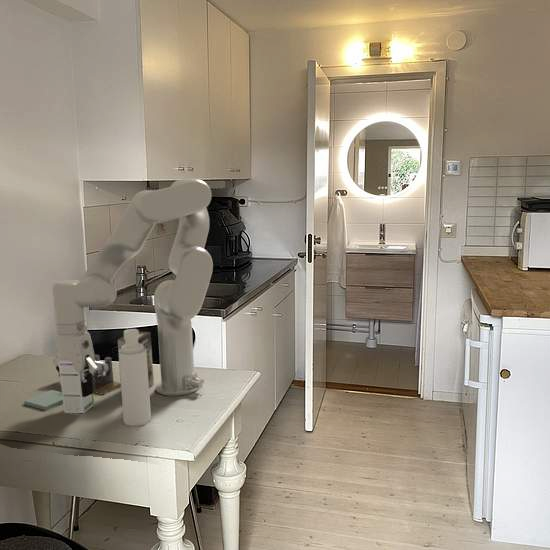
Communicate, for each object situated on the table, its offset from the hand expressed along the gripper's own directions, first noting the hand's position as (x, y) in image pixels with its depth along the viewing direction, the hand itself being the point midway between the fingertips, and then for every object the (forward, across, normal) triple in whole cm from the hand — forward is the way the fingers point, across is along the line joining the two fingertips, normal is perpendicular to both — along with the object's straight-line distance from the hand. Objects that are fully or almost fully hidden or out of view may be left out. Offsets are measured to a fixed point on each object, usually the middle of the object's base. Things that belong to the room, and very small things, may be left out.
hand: (77, 392), depth 150 cm
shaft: (+1, +14, -14) cm, 20 cm away
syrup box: (+5, 0, 0) cm, 5 cm away
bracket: (+5, +8, -14) cm, 17 cm away
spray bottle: (+5, -19, -2) cm, 20 cm away
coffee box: (+5, -4, -18) cm, 19 cm away
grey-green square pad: (+5, +12, 0) cm, 13 cm away
